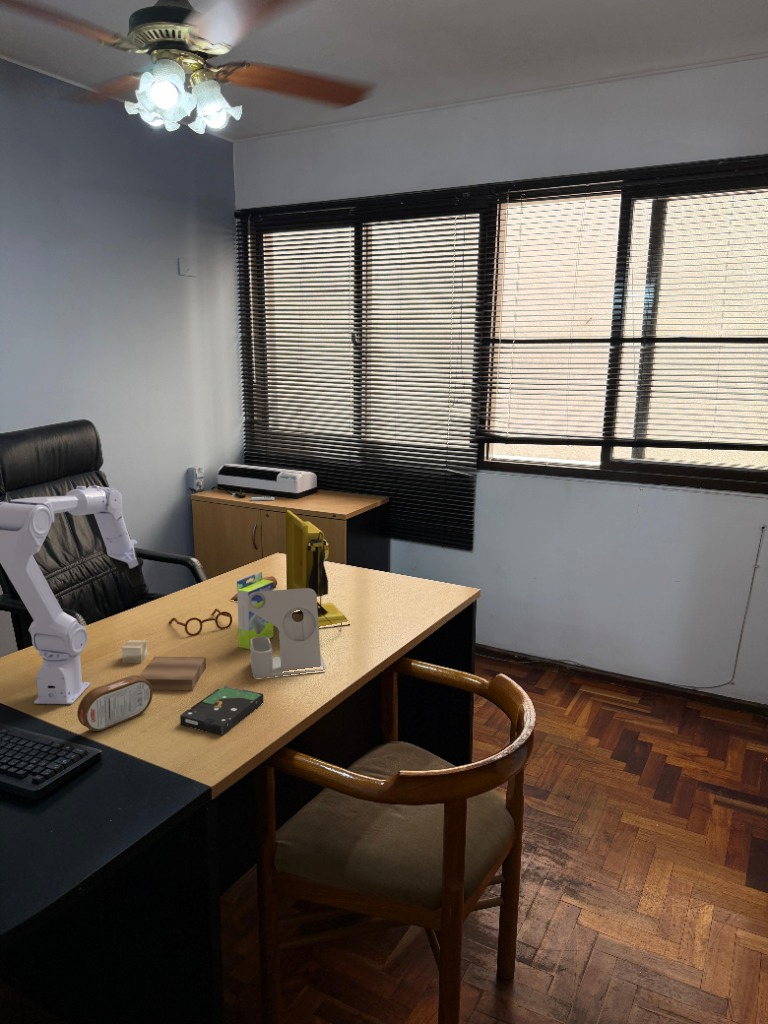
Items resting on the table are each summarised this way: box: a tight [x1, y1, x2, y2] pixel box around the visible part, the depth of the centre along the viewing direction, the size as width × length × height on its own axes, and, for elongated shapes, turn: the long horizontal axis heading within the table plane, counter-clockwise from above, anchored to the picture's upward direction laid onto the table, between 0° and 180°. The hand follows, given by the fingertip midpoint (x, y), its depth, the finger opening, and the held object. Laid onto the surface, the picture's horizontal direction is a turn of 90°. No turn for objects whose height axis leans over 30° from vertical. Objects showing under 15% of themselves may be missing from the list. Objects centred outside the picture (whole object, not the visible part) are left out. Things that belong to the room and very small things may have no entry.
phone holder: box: [247, 588, 328, 679], centre depth 165 cm, size 17×10×18 cm, turn 105°
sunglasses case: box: [229, 576, 278, 601], centre depth 218 cm, size 18×7×7 cm
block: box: [121, 639, 149, 664], centre depth 169 cm, size 4×4×4 cm
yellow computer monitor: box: [285, 509, 349, 633], centre depth 194 cm, size 31×14×30 cm, turn 22°
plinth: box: [139, 656, 207, 691], centre depth 159 cm, size 12×12×2 cm
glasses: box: [168, 608, 233, 637], centre depth 192 cm, size 13×13×5 cm
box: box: [236, 571, 274, 650], centre depth 179 cm, size 10×4×17 cm, turn 152°
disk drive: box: [179, 685, 264, 737], centre depth 144 cm, size 10×3×15 cm
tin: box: [76, 674, 154, 732], centre depth 139 cm, size 15×3×8 cm, turn 141°
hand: (130, 577), depth 172 cm, fingers open, 7 cm apart
